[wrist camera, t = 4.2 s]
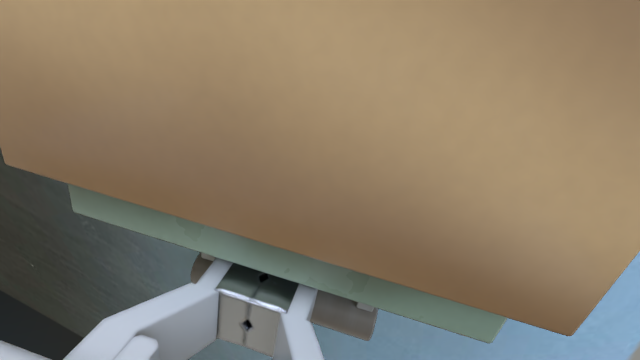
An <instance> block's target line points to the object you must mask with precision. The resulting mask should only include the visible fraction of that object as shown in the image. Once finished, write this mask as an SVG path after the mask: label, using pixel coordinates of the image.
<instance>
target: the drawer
mask: <svg viewBox="0 0 640 360" xmlns="http://www.w3.org/2000/svg"><path fill="white" fill-rule="evenodd" d="M67 184H68V183H67ZM68 189H69V194H70V199H71V205H72V210H73V211H74V212H75V213H78V214H81V215H84V216H87V217H91V218H94V219H97V220H100V221H103V222H106V223H109V224H113V225H116V226H119V227H122V228H125V229H128V230H132V231H135V232H138V233H141V234H144V235H147V236H151V237H154V238H157V239H160V240H163V241H166V242H170V243H173V244H176V245H179V246H182V247H185V248H188V249H192V250H195V251H198V252H201V253H200V254H199V255H198V257H197V258H196V260H195V262H194V265H193V267H192V271H191V282H192V283H194V284H196V283H197V282H198V280H199V279H200V278H201V277H202V275H203V274H204V273H205V272H206V270H207V269H208V268H209V267H210V265H211V264H212V263H213V262H214V260H215V259H216V258H220V259H223V260H226V261H230V262H233V263H236V264H239V265H242V266H245V267H249V268H252V269H255V270H258V271H261V272H264V273H268V274H271V275H274V276H277V277H280V278H283V279H286V280H290V281H293V282H296V283H299V284H302V285H305V286H309V287H312V288H315V289H318V292H317V296H316V300H315V304H314V308H313V312H312V315H311V319H310V322H312V323H314V324H317V325H320V326H323V327H326V328H329V329H332V330H335V331H338V332H341V333H344V334H347V335H350V336H353V337H356V338H359V339H363V340H366V341H369V340H370V338H371V337H372V334H373V331H374V327H375V323H376V319H377V313H378V309H381V310H384V311H388V312H391V313H394V314H397V315H400V316H403V317H407V318H410V319H413V320H416V321H419V322H422V323H426V324H429V325H432V326H435V327H438V328H441V329H445V330H448V331H451V332H454V333H457V334H460V335H463V336H467V337H470V338H473V339H476V340H479V341H482V342H486V343H492V342H493V340H494V339H495V337H496V335H497V334H498V332H499V331H500V329H501V328H502V326H503V324H504V323H505V321H506V320H507V317H503V316H500V315H497V314H493V313H490V312H487V311H484V310H480V309H477V308H474V307H471V306H467V305H464V304H461V303H457V302H454V301H451V300H448V299H444V298H441V297H438V296H434V295H431V294H428V293H425V292H421V291H418V290H415V289H412V288H408V287H405V286H402V285H398V284H395V283H392V282H389V281H385V280H382V279H379V278H375V277H372V276H369V275H366V274H362V273H359V272H356V271H353V270H349V269H346V268H343V267H339V266H336V265H333V264H330V263H326V262H323V261H320V260H317V259H313V258H310V257H307V256H303V255H300V254H297V253H294V252H290V251H287V250H284V249H280V248H277V247H274V246H271V245H267V244H264V243H261V242H258V241H254V240H251V239H248V238H244V237H241V236H238V235H235V234H231V233H228V232H225V231H222V230H218V229H215V228H212V227H208V226H205V225H202V224H199V223H195V222H192V221H189V220H185V219H182V218H179V217H176V216H172V215H169V214H166V213H163V212H159V211H156V210H153V209H149V208H146V207H143V206H140V205H136V204H133V203H130V202H127V201H123V200H120V199H117V198H113V197H110V196H107V195H104V194H100V193H97V192H94V191H90V190H87V189H84V188H81V187H77V186H74V185H71V184H68Z"/></svg>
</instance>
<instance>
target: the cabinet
mask: <svg viewBox="0 0 640 360" xmlns="http://www.w3.org/2000/svg"><path fill="white" fill-rule="evenodd" d="M0 148H1V151H2V155H3V158H4V162H5V163H6V164H7V165H9V166H12V167H15V168H18V169H22V170H25V171H28V172H31V173H35V174H38V175H41V176H45V177H48V178H51V179H54V180H58V181H61V182H64V183H68V184H71V185H74V186H77V187H81V188H84V189H87V190H90V191H94V192H97V193H100V194H104V195H107V196H110V197H113V198H117V199H120V200H123V201H127V202H130V203H133V204H136V205H140V206H143V207H146V208H149V209H153V210H156V211H159V212H163V213H166V214H169V215H172V216H176V217H179V218H182V219H185V220H189V221H192V222H195V223H199V224H202V225H205V226H208V227H212V228H215V229H218V230H222V231H225V232H228V233H231V234H235V235H238V236H241V237H244V238H248V239H251V240H254V241H258V242H261V243H264V244H267V245H271V246H274V247H277V248H280V249H284V250H287V251H290V252H294V253H297V254H300V255H303V256H307V257H310V258H313V259H317V260H320V261H323V262H326V263H330V264H333V265H336V266H339V267H343V268H346V269H349V270H353V271H356V272H359V273H362V274H366V275H369V276H372V277H375V278H379V279H382V280H385V281H389V282H392V283H395V284H398V285H402V286H405V287H408V288H412V289H415V290H418V291H421V292H425V293H428V294H431V295H434V296H438V297H441V298H444V299H448V300H451V301H454V302H457V303H461V304H464V305H467V306H471V307H474V308H477V309H480V310H484V311H487V312H490V313H493V314H497V315H500V316H503V317H507V318H510V319H513V320H516V321H520V322H523V323H526V324H529V325H533V326H536V327H539V328H543V329H546V330H549V331H552V332H556V333H559V334H562V335H566V336H572V335H573V334H574V333H575V331H576V330H577V329H578V328H579V326H580V325H581V324H582V323H583V321H584V320H585V319H586V318H587V316H588V315H589V314H590V313H591V311H592V310H593V309H594V308H595V306H596V305H597V304H598V303H599V301H600V300H601V299H602V298H603V296H604V295H605V294H606V293H607V291H608V290H609V289H610V288H611V286H612V285H613V284H614V283H615V281H616V280H617V279H618V278H619V276H620V275H621V274H622V273H623V271H624V270H625V269H626V268H627V266H628V265H629V264H630V263H631V261H632V260H633V259H634V257H635V256H636V255H637V254H638V252H639V251H640V0H0Z"/></svg>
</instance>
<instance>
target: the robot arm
mask: <svg viewBox="0 0 640 360" xmlns="http://www.w3.org/2000/svg"><path fill="white" fill-rule="evenodd" d="M317 292H318V289H315V288H312V287H309V286H305V285H302V284H299V283H296V282H293V281H290V280H286V279H283V278H280V277H277V276H274V275H271V274H268V273H264V272H261V271H258V270H255V269H252V268H249V267H245V266H242V265H239V264H236V263H233V262H230V261H226V260H223V259H220V258H216V259H215V260H214V262H213V263H212V264H211V265H210V267H209V268H208V269H207V270H206V272H205V273H204V274H203V275H202V277H201V278H200V279H199V280H198V282H197V283H196V284H194V283H189V284H186V285H184V286H182V287H179V288H177V289H174V290H172V291H170V292H167V293H165V294H162V295H160V296H158V297H155V298H153V299H150V300H148V301H146V302H143V303H141V304H138V305H136V306H134V307H131V308H129V309H126V310H124V311H122V312H119V313H117V314H114V315H112V316H110V317H107V318H105V319H103V320H102V321H101V322H100V323H99V324H98V325H97V326H96V327H95V328H94V329H93V330H92V331H91V332H90V333H89V334H88V335H87V336H86V337H85V338H84V339H83V340H82V341H81V342H80V343H79V344H78V345H77V346H76V347H75V348H74V349H73V350H72V351H71V352H70V353H69V354H68V355H67V356H66V357H65V358H64V359H63V360H187V359H189V358H190V357H192V356H193V355H195V354H196V353H198V352H199V351H201V350H202V349H203V348H205V347H206V346H208V345H209V344H211V343H212V342H214V341H215V340H216V338H218V339H222V340H225V341H228V342H231V343H234V344H238V345H241V346H244V347H247V348H249V349H252V350H255V351H257V352H260V353H263V354H265V355H268V356H271V357H273V360H324V357H323V354H322V351H321V348H320V345H319V342H318V339H317V337H316V334H315V331H314V328H313V325H312V322H310V319H311V315H312V312H313V308H314V304H315V300H316V296H317ZM0 360H51V359H49V358H46V357H44V356H41V355H38V354H35V353H33V352H30V351H27V350H25V349H22V348H20V347H17V346H14V345H11V344H9V343H6V342H4V341H1V340H0Z"/></svg>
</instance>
